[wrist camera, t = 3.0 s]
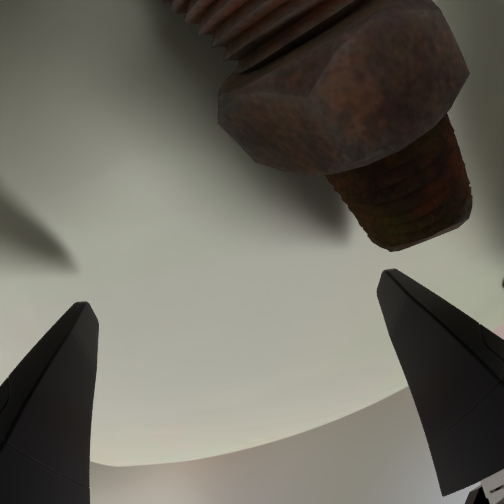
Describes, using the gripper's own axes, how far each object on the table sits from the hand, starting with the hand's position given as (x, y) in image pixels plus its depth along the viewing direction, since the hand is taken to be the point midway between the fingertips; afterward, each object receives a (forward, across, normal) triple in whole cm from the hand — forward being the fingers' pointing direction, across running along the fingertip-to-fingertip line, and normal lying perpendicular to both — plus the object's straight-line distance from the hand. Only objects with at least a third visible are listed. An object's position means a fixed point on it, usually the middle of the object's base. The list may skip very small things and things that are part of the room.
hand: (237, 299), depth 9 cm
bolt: (+2, 0, -8) cm, 9 cm away
